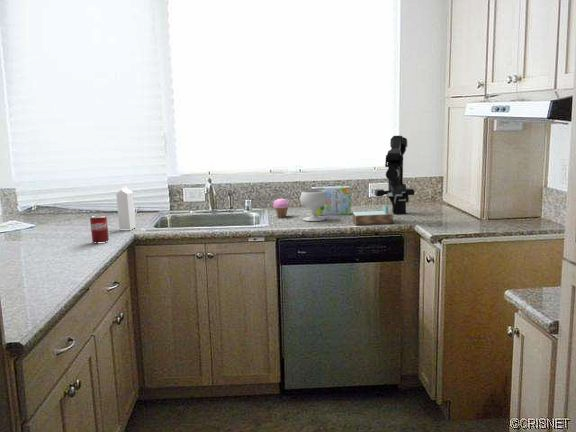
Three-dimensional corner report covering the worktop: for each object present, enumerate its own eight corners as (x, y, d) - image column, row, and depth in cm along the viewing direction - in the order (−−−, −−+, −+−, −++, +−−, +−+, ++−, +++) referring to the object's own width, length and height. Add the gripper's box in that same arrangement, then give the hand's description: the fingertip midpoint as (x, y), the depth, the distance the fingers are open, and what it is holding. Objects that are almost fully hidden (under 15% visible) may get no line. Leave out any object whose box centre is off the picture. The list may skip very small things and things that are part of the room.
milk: (119, 230, 296) (115, 187, 293) (125, 228, 302) (121, 185, 298) (130, 230, 295) (126, 187, 291) (136, 228, 301) (132, 185, 297)
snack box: (350, 213, 322) (350, 185, 320) (350, 214, 317) (350, 186, 314) (312, 213, 325) (311, 186, 322) (311, 215, 319) (310, 187, 317)
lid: (386, 211, 297) (386, 204, 296) (390, 215, 287) (390, 207, 286) (353, 213, 297) (352, 205, 296) (355, 216, 286) (355, 208, 286)
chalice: (317, 216, 315) (316, 188, 313) (333, 219, 304) (332, 190, 301) (295, 219, 308) (294, 191, 305) (311, 223, 296) (310, 193, 294)
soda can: (94, 241, 273) (92, 215, 271) (110, 240, 274) (108, 214, 272) (90, 244, 266) (88, 218, 264) (107, 243, 267) (104, 217, 265)
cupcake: (289, 217, 314) (288, 199, 312) (273, 218, 314) (272, 199, 313) (289, 215, 323) (289, 197, 321) (274, 215, 323) (273, 197, 321)
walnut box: (388, 219, 298) (388, 210, 297) (392, 223, 286) (392, 214, 286) (352, 220, 298) (352, 212, 297) (355, 225, 286) (355, 216, 286)
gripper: (378, 180, 281) (378, 212, 283) (417, 179, 281) (417, 211, 283) (374, 178, 292) (374, 209, 294) (411, 176, 292) (411, 207, 294)
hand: (394, 209), depth 291 cm, fingers closed
